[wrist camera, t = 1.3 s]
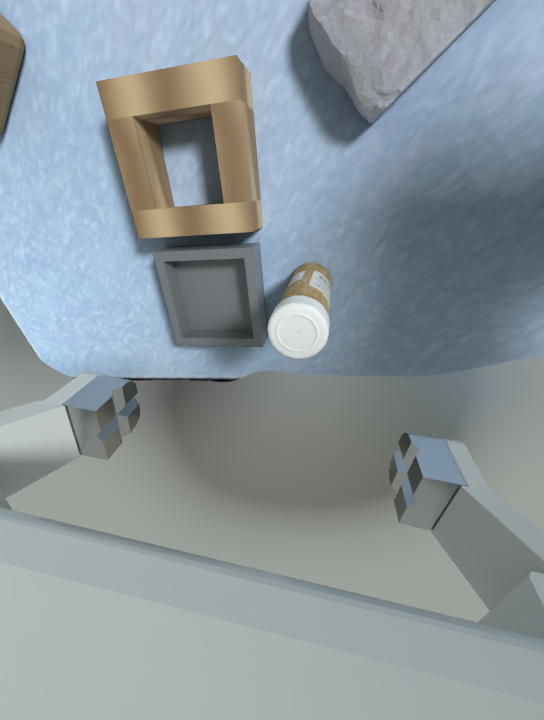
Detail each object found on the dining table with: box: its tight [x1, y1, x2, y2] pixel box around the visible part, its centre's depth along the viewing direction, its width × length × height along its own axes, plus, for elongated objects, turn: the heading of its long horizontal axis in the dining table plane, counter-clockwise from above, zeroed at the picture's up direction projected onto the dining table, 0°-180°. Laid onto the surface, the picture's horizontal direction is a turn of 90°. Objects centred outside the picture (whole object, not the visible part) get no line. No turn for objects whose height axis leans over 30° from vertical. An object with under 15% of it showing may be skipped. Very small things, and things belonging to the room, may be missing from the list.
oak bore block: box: [96, 55, 263, 239], centre depth 28 cm, size 12×12×4 cm
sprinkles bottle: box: [267, 263, 332, 359], centre depth 27 cm, size 5×5×13 cm
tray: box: [153, 243, 268, 347], centre depth 34 cm, size 11×11×3 cm
